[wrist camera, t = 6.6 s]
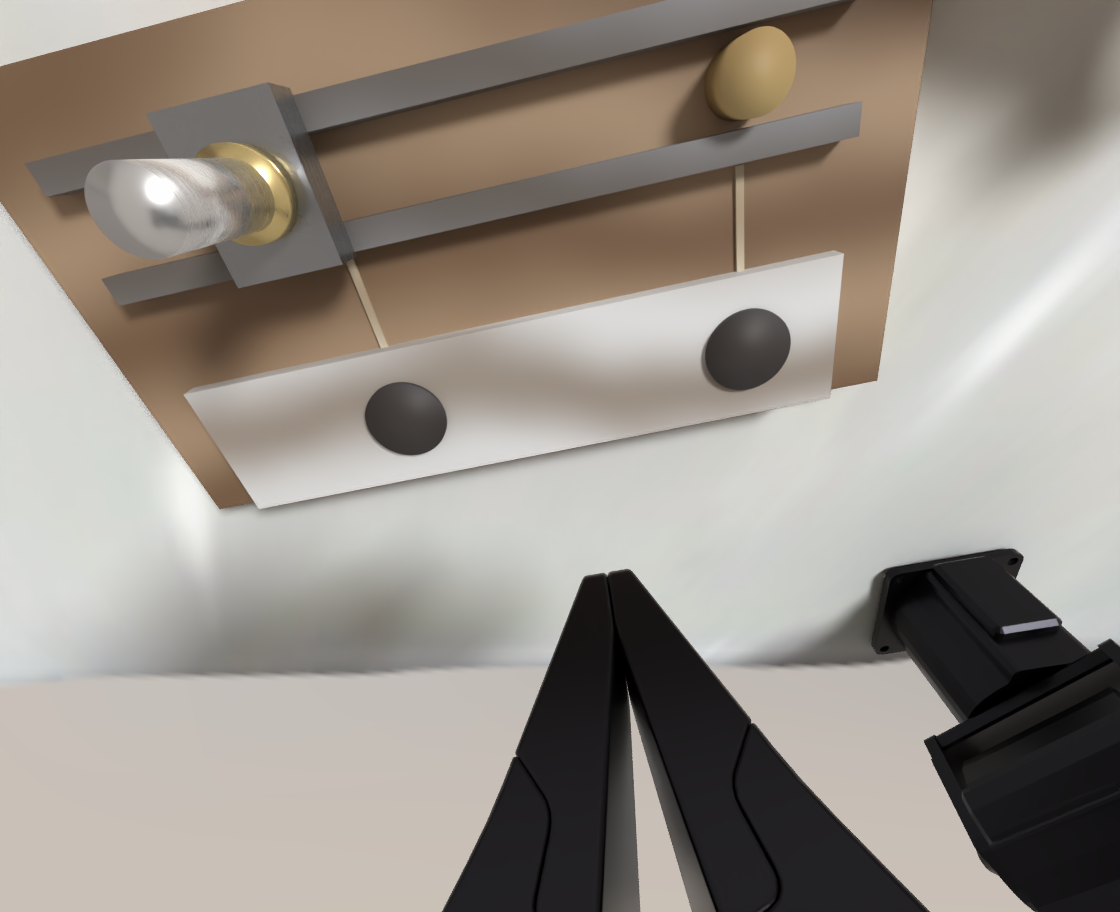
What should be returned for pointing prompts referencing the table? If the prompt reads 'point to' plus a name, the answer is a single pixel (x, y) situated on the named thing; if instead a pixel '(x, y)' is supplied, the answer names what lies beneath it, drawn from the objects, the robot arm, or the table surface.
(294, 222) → the sliding handle
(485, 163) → the brown flat wooden board
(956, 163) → the table surface
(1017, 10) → the table surface
